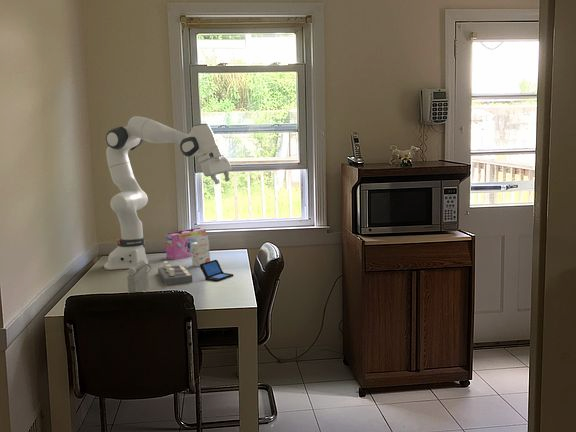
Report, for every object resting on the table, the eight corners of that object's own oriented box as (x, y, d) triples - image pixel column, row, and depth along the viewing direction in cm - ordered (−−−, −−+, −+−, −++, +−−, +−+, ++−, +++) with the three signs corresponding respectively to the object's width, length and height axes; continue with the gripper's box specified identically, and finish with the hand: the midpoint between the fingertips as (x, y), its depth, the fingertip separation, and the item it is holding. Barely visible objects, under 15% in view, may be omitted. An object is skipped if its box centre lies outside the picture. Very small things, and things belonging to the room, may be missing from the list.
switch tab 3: (170, 276, 271) (169, 269, 271) (169, 274, 274) (168, 268, 274) (174, 275, 272) (174, 269, 272) (173, 274, 275) (173, 267, 274)
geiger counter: (137, 258, 261) (119, 272, 237) (151, 258, 261) (135, 271, 237) (140, 289, 264) (122, 306, 239) (154, 288, 263) (138, 305, 239)
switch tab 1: (164, 268, 286) (164, 262, 286) (163, 267, 289) (163, 261, 289) (168, 268, 287) (168, 262, 286) (167, 267, 290) (167, 261, 289)
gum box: (201, 250, 343) (200, 227, 341) (209, 252, 338) (208, 228, 336) (166, 257, 327) (164, 233, 325) (174, 259, 321) (172, 235, 319)
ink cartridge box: (203, 262, 313) (202, 234, 311) (210, 263, 310) (208, 235, 308) (191, 265, 306) (190, 237, 304) (198, 266, 303) (196, 238, 301)
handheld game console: (217, 282, 271) (216, 266, 270) (199, 280, 277) (198, 264, 276) (234, 276, 281) (233, 261, 280) (217, 274, 287) (216, 259, 286)
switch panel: (166, 285, 269) (165, 278, 268) (158, 273, 291) (157, 267, 290) (192, 281, 273) (191, 275, 272) (182, 270, 295) (182, 264, 295)
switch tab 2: (167, 272, 279) (166, 266, 278) (166, 271, 282) (165, 264, 281) (171, 271, 279) (171, 265, 279) (170, 270, 282) (170, 264, 282)
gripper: (218, 155, 295) (228, 181, 295) (195, 160, 277) (206, 187, 277) (228, 151, 292) (238, 177, 292) (205, 155, 274) (216, 183, 274)
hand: (222, 182), depth 284 cm, fingers open, 8 cm apart
